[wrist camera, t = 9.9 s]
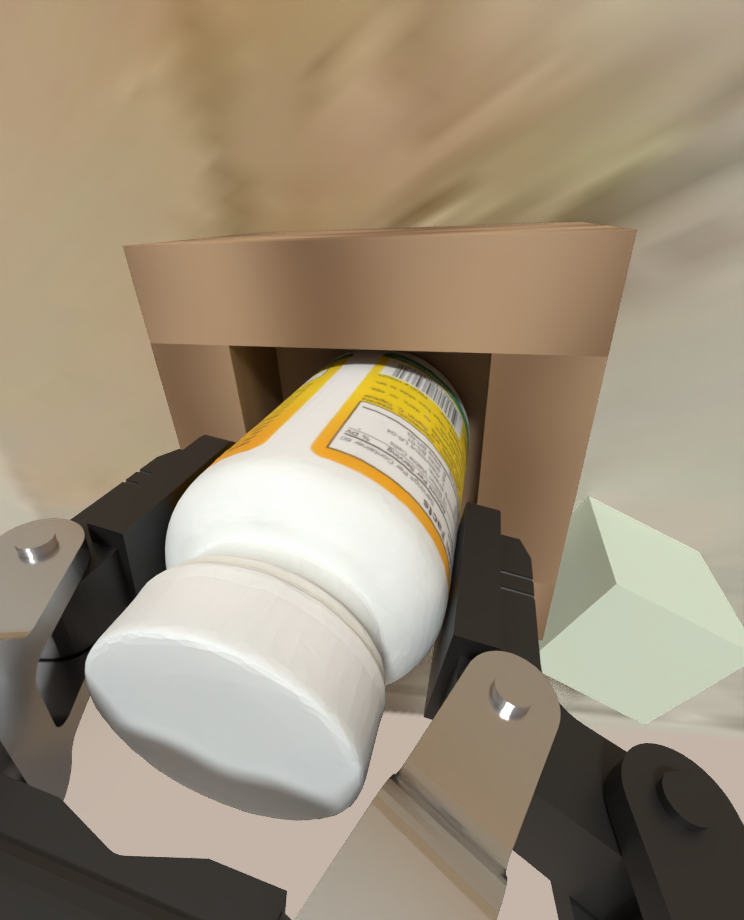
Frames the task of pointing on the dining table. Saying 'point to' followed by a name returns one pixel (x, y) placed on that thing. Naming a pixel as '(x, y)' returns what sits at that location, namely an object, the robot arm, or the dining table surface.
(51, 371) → the dining table surface
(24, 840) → the robot arm
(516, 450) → the brown open box
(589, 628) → the green cube
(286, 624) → the supplement bottle
